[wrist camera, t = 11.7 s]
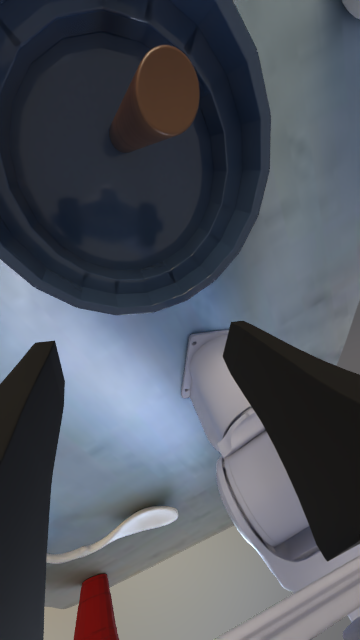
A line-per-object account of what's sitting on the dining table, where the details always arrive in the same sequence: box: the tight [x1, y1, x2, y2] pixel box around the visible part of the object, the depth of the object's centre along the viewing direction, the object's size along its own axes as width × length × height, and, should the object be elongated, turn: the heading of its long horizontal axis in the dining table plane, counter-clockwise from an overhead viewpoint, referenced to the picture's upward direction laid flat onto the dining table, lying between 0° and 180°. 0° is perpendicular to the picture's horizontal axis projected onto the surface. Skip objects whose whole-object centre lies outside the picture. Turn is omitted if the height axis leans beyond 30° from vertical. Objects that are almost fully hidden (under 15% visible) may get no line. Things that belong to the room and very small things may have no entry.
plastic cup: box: [74, 574, 119, 640], centre depth 52 cm, size 11×11×12 cm
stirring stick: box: [109, 45, 200, 153], centre depth 9 cm, size 2×2×10 cm
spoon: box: [46, 506, 178, 563], centre depth 39 cm, size 9×32×4 cm, turn 81°
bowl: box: [0, 0, 271, 315], centre depth 13 cm, size 15×15×4 cm
